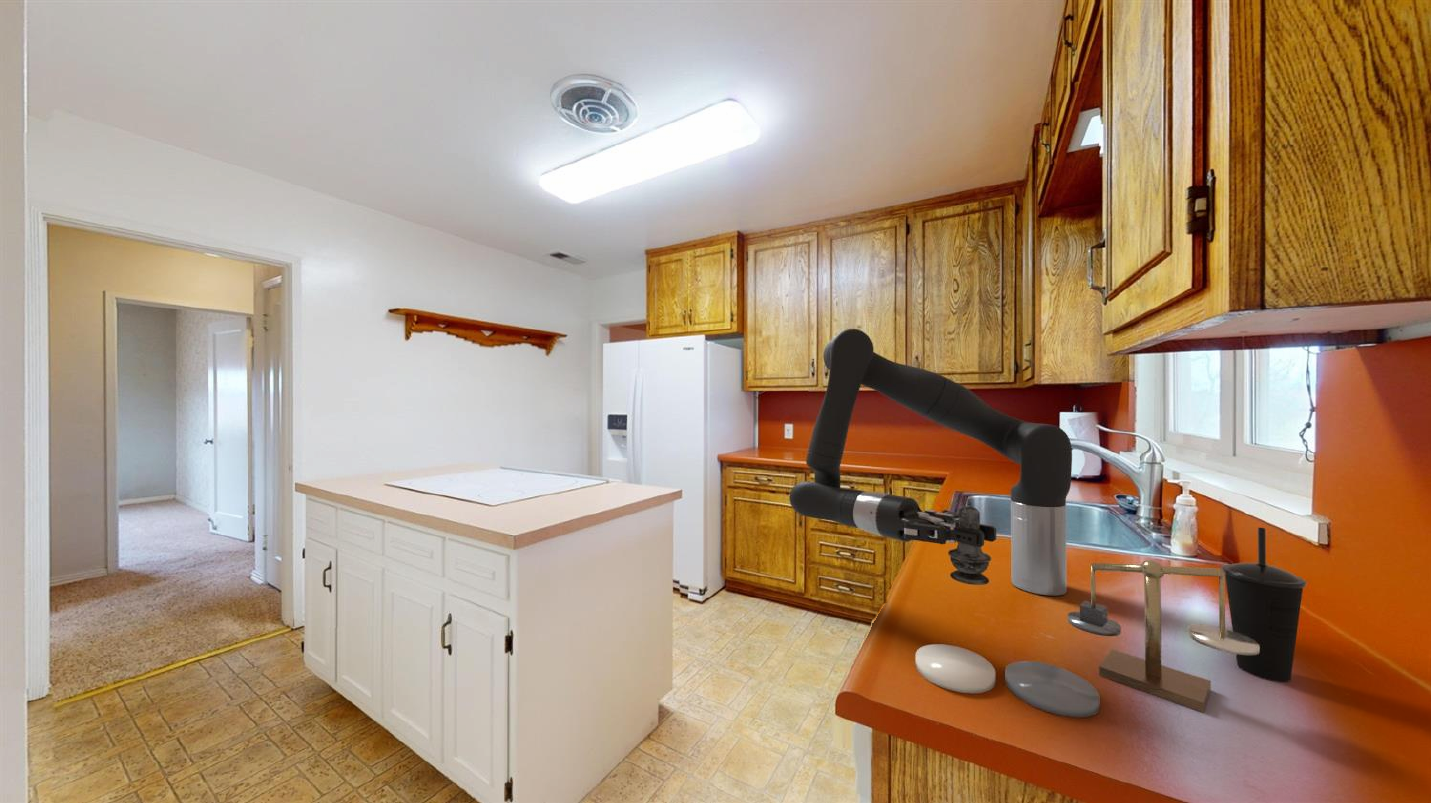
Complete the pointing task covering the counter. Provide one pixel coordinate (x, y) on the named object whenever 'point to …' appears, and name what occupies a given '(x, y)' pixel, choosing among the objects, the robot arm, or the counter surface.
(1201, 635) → the brass balance
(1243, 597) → the drinking cup
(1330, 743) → the counter surface
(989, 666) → the cream dish
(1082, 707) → the slate-grey dish
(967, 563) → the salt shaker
